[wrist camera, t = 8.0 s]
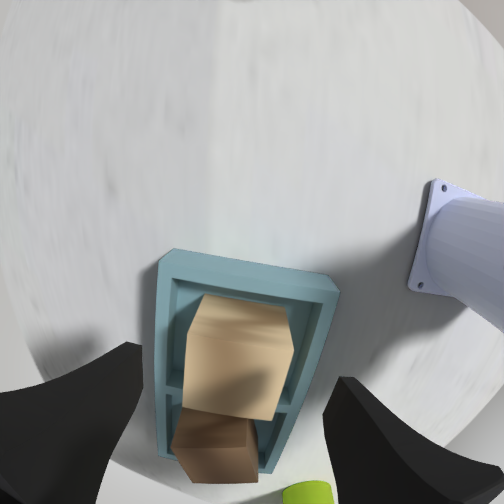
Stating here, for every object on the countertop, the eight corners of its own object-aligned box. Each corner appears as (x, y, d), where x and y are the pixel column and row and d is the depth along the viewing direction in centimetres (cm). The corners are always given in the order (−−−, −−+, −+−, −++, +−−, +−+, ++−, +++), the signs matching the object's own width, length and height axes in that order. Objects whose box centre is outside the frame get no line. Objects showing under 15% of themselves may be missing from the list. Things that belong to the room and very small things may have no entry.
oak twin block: (284, 306, 18) (294, 350, 13) (268, 370, 19) (271, 420, 14) (205, 293, 18) (187, 333, 13) (197, 358, 19) (182, 406, 14)
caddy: (328, 275, 18) (340, 292, 15) (270, 450, 23) (271, 473, 20) (173, 248, 18) (158, 260, 15) (165, 433, 22) (158, 455, 19)
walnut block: (248, 396, 20) (246, 446, 15) (258, 436, 21) (258, 482, 16) (184, 400, 20) (170, 447, 15) (201, 439, 21) (192, 482, 16)
